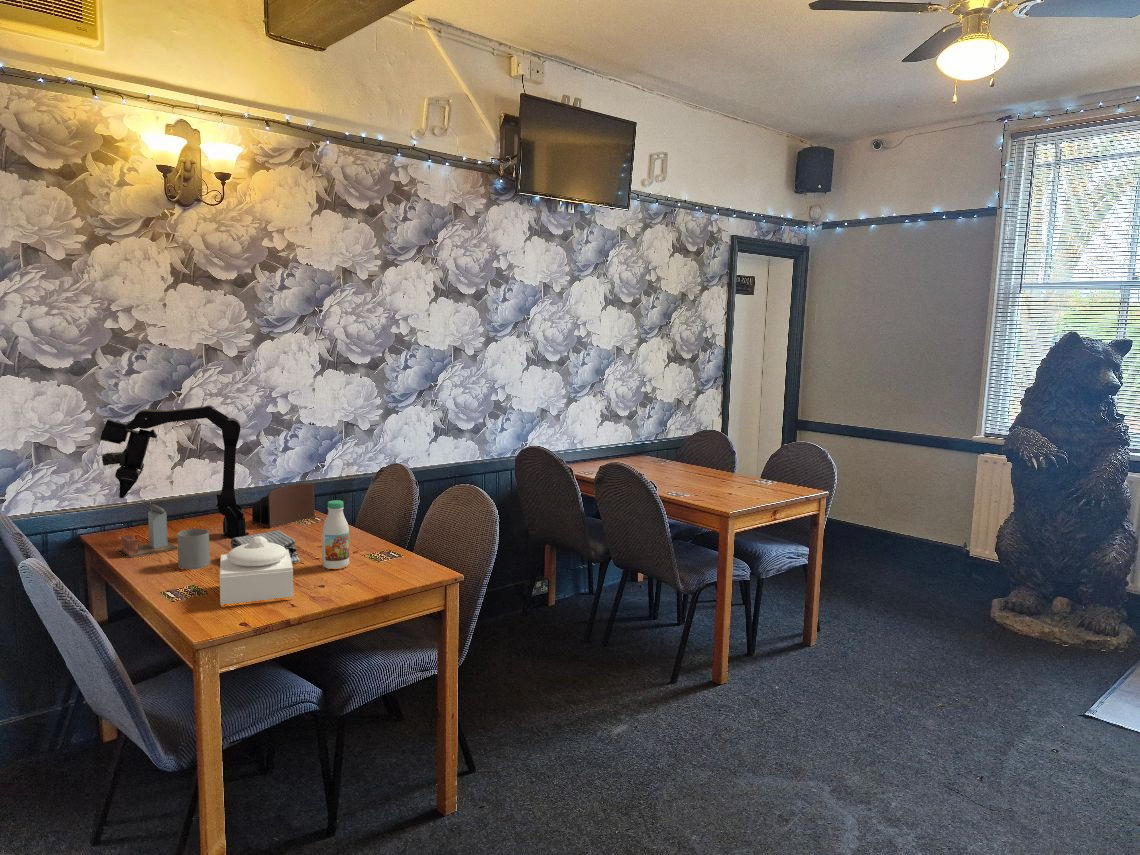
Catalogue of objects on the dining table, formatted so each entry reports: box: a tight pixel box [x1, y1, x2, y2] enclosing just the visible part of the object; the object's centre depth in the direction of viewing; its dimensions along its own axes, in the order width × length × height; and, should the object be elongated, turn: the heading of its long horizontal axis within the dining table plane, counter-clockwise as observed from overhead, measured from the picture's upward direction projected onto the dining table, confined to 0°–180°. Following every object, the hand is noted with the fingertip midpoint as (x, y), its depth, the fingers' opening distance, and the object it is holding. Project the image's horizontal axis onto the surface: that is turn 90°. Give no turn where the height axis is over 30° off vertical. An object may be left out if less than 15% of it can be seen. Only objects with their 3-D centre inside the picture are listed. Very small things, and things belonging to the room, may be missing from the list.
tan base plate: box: [120, 534, 178, 558], centre depth 241 cm, size 14×9×5 cm, turn 137°
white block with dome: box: [219, 536, 294, 605], centre depth 208 cm, size 18×18×16 cm
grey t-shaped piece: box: [147, 503, 169, 548], centre depth 243 cm, size 4×8×13 cm, turn 46°
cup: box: [176, 528, 211, 570], centre depth 228 cm, size 8×8×10 cm
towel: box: [230, 530, 301, 563], centre depth 235 cm, size 15×18×8 cm
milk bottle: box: [321, 499, 350, 568], centre depth 231 cm, size 8×8×20 cm
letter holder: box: [251, 482, 316, 529], centre depth 281 cm, size 10×20×14 cm, turn 148°
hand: (122, 494), depth 246 cm, fingers open, 9 cm apart
